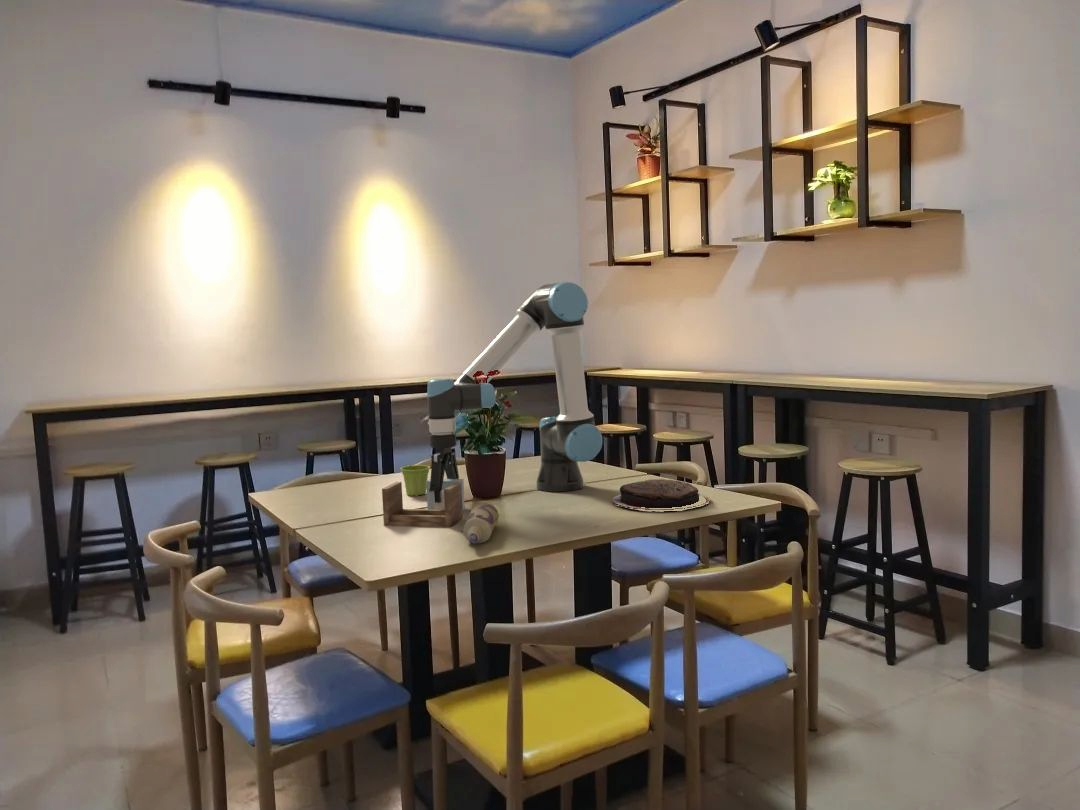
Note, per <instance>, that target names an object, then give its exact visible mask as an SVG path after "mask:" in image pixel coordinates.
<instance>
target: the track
mask: <svg viewBox="0 0 1080 810" xmlns="http://www.w3.org/2000/svg"><path fill="white" fill-rule="evenodd" d="M402 484H403V483H402V481H395V482H394V483H391V484H389V485H387V486H385V487H383V488H381V489H382V490H381V495H382V496H381V497H382V499H381V500H382V512H383V513H382V514H383V516H382V517H383V526H384V525H392V526H391V527H433V526H438V527H440V526H441V528H442V527H443V528H447V527H449V528H451V527H453V526H455V525H456V524H457V523H459V522H460V521H461V520H463V519H464V513H463V512H464V511H463V506H462V484H461V482H456V483H454V484H452V485H451V486H449V487H447V488H445V489H444V499H445V510H434V509H428V508H427V509H426V508H425V509H418V508H416V509H415V508H404V507H403V506H404V505H403V504H404V503H403V501H404V500H403V485H402ZM462 518H463V519H462ZM459 520H460V521H459ZM458 521H459V522H458ZM455 523H456V524H455ZM394 525H395V526H394ZM438 527H437V528H438Z"/></svg>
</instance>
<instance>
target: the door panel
mask: <svg viewBox="0 0 1080 810" xmlns="http://www.w3.org/2000/svg"><path fill="white" fill-rule="evenodd" d="M430 480H431V478H430V479H427V481H426V487H427V488H426V502H427V504H426V505H427V509H434V494H433V491H430ZM456 482H461V484H462V506H463V510H464V511H466V508H465V507H466V505H465V504H466V503H465V487H464V485H465V484H464V478H459V479H447V478H444V479H443V486H442V490H443V493H444V489H445V488H447V487H449V486H451V485H452V484H454V483H456ZM444 510H445V499H444Z"/></svg>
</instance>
